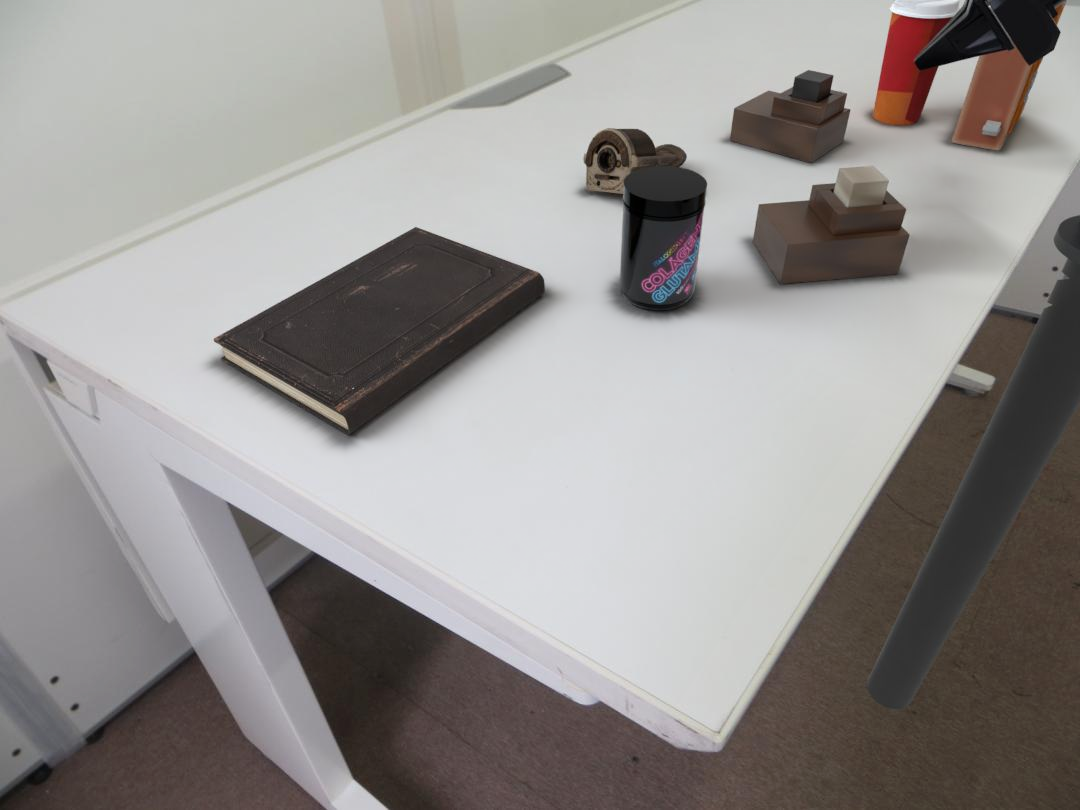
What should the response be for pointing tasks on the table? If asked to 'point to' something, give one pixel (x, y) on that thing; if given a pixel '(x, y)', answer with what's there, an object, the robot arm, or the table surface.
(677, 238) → the supplement container
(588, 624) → the table surface
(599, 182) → the mechanical counter
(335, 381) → the hardcover book
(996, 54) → the control panel
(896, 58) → the paper cup
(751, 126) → the push button base
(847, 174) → the ivory key
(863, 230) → the brown push button box
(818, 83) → the black key
